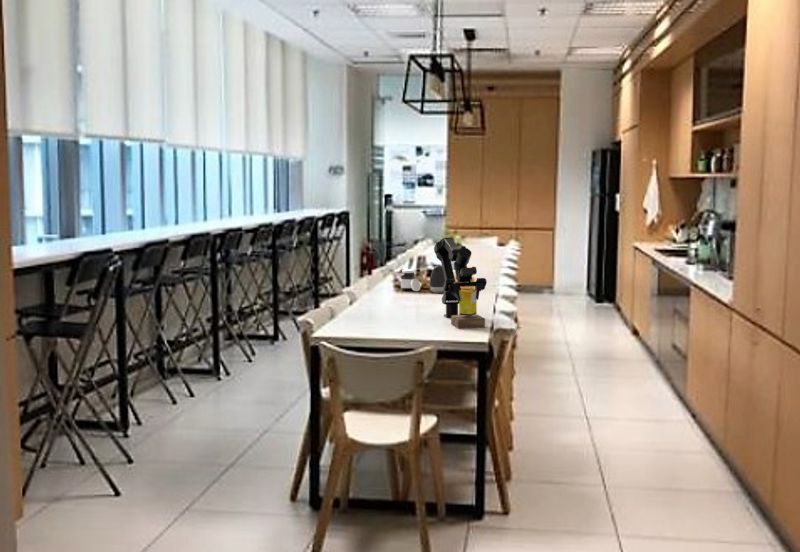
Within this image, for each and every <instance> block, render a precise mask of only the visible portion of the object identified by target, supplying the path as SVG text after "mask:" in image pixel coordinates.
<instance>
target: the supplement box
mask: <svg viewBox="0 0 800 552" xmlns="http://www.w3.org/2000/svg"><path fill="white" fill-rule="evenodd" d="M459 296H460V301H459V304H458V315H465V316H472V315H475V314H477V315H478V313H477V305H478V304H477V301H478V300H477V299H476V297H477V290H475V288H474V289H471V288H464V289H461V290H460V291H459Z"/></svg>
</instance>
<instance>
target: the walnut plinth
mask: <svg viewBox="0 0 800 552" xmlns="http://www.w3.org/2000/svg"><path fill="white" fill-rule="evenodd" d="M450 324H451V325H452V326H453V327H455V328H457V329H458V330H459V329H460V330H461V329H484V328H486V318H485V317H483V316H481V315H480V314H478V313H477V314H475V315H472V316H465V315H459V314H458V315H451V317H450Z"/></svg>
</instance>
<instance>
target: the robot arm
mask: <svg viewBox="0 0 800 552" xmlns="http://www.w3.org/2000/svg"><path fill="white" fill-rule="evenodd" d="M433 251H434V254H435V256H436V259H437V260H438V261H439V262H440V263H441V266H442V268H443V273H444V278H445V282H444V285H443V289H444V292H443V294H442V298H441V302H442V304H443V305H445V314H443V316H444V317H446V318H451V315H459V301H460V296H459V291H460V290H462V288H465V287H467V288H468V287H474V290H477V297H476V299H477V301H478V300H479V297H480V292H481V291H483V290H485V288H486V285H487V283H488V282H487V279H486V278H485V277H477V278H476V279H475V281H471V280H473V276H475V275H476V274H477V272H478V271H477V267H476V266H472V267H468V266H467V265H468V264H469V262H470V259H471V257H472V251H471V250H470V249H469V248H468V247H466V246H464V245H461V246H458V245H457V243H456V242H455V241H454V239H453V237H442V238H441V239H440V240H439V241H437V242H436V243H435V245H434V248H433ZM452 262H454V263H453V264H452ZM454 272H455V274H454ZM455 275H456V276H455Z"/></svg>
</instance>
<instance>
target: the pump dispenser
mask: <svg viewBox="0 0 800 552" xmlns="http://www.w3.org/2000/svg"><path fill="white" fill-rule="evenodd" d="M444 282H445V278H444V273H443V268H442V265H439V264H438V265H435V266H434V267H433V268H432V271H431V274H430V278H429V285H428V286H429V288H430V291H431V292H432V293H434V294H441V293H443V294H444V289H443V285H444Z"/></svg>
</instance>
